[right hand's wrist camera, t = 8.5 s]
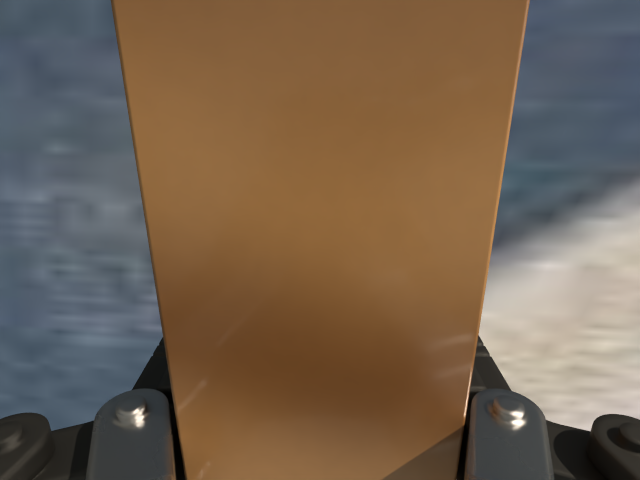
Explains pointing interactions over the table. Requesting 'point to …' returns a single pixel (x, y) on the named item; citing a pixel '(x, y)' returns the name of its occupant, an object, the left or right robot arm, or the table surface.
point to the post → (320, 222)
